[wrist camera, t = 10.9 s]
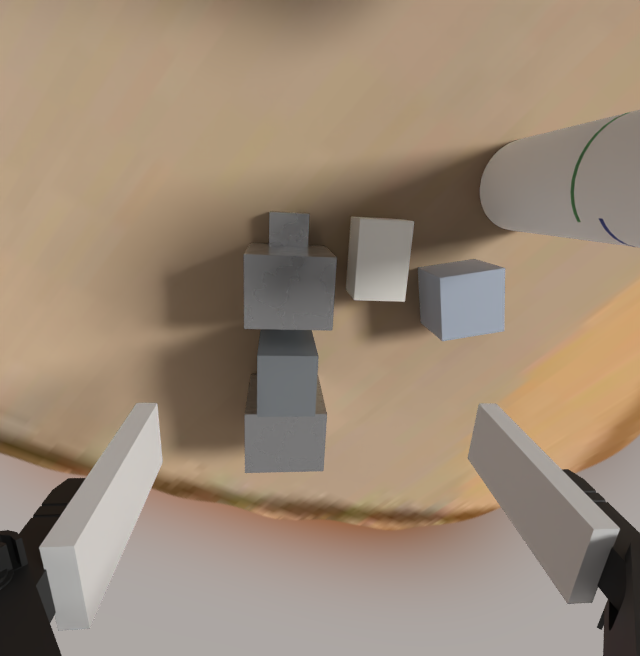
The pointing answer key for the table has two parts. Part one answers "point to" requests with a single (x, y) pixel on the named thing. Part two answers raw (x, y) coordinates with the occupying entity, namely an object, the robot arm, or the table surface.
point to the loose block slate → (462, 298)
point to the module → (286, 373)
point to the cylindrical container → (570, 182)
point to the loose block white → (379, 258)
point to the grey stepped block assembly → (287, 314)
